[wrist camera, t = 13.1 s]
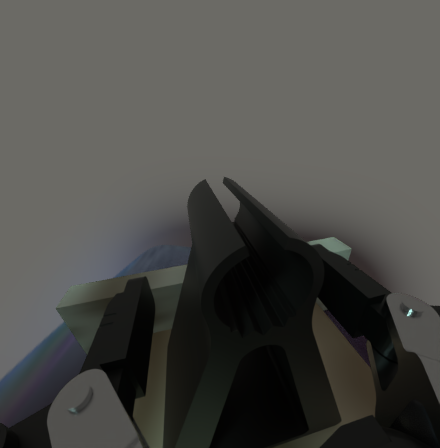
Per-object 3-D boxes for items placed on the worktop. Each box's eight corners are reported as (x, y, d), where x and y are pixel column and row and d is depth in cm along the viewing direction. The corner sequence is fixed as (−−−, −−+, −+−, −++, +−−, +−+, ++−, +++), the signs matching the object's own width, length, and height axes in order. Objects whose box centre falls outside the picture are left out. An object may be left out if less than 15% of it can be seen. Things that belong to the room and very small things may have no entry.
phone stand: (283, 321, 15) (301, 167, 10) (340, 425, 10) (452, 209, 4) (168, 349, 14) (115, 189, 8) (162, 486, 8) (4, 288, 3)
